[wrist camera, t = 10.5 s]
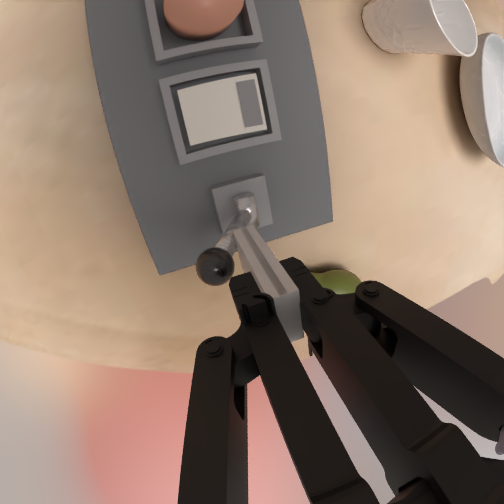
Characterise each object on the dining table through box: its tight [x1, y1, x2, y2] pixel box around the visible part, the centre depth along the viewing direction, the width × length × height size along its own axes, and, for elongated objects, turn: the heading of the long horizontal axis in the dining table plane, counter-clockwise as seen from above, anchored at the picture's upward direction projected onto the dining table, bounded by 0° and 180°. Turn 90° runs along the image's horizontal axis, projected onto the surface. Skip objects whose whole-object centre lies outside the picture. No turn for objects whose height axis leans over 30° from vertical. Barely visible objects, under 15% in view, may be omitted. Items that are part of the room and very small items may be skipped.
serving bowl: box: [460, 33, 504, 167], centre depth 23 cm, size 21×21×7 cm
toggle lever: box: [196, 192, 260, 286], centre depth 17 cm, size 2×2×8 cm
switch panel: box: [85, 0, 333, 275], centre depth 16 cm, size 16×31×5 cm, turn 11°
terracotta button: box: [164, 0, 244, 40], centre depth 12 cm, size 5×5×3 cm
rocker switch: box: [177, 73, 267, 146], centre depth 17 cm, size 5×4×1 cm
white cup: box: [362, 0, 478, 57], centre depth 15 cm, size 8×8×10 cm
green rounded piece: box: [309, 270, 362, 294], centre depth 30 cm, size 6×5×10 cm
